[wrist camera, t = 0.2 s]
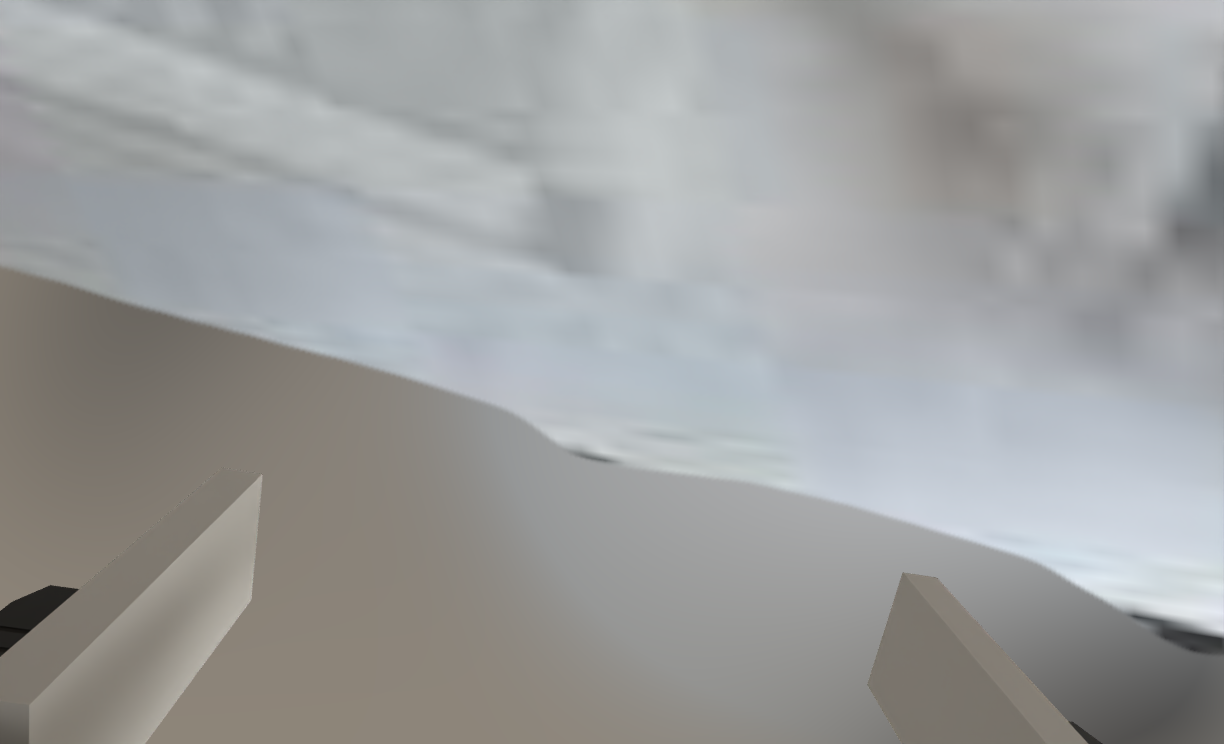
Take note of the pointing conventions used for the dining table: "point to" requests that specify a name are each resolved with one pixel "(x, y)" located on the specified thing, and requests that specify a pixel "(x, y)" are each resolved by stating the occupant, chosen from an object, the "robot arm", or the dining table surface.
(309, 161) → the dining table surface
